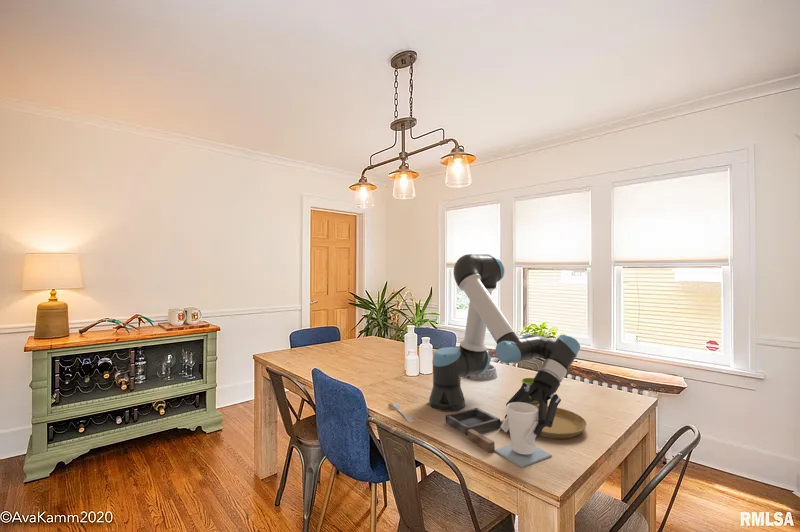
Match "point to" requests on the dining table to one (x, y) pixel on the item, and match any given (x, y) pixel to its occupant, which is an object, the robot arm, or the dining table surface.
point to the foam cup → (521, 425)
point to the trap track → (475, 426)
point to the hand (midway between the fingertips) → (515, 436)
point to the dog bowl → (486, 374)
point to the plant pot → (529, 382)
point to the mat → (523, 456)
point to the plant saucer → (564, 425)
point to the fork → (402, 412)
